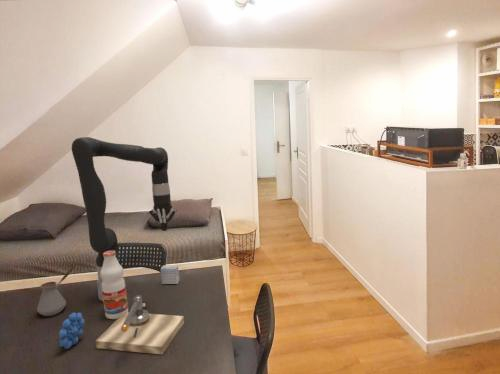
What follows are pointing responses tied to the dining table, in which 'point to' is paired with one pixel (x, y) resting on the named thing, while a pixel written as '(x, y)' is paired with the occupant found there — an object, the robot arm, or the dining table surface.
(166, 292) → the dining table surface
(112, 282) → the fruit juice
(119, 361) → the dining table surface
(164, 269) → the medicine box
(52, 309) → the coffee pot
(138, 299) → the metal faucet
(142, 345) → the stand
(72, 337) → the grapes
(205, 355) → the dining table surface
